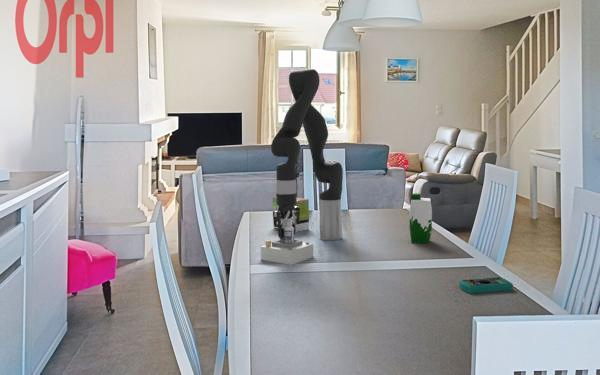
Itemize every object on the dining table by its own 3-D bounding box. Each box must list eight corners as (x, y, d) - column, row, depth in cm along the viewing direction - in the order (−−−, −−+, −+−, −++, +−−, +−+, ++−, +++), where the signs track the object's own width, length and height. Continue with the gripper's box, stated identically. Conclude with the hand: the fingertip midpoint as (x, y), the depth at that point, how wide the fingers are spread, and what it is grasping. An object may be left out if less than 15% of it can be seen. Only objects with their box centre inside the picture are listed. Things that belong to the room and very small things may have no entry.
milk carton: (409, 239, 250) (410, 192, 247) (431, 239, 248) (432, 192, 245) (409, 243, 241) (409, 195, 239) (431, 244, 239) (432, 195, 237)
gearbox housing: (283, 252, 229) (283, 234, 228) (313, 256, 221) (313, 238, 220) (261, 259, 217) (260, 241, 216) (291, 264, 209) (291, 245, 208)
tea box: (272, 228, 277) (271, 197, 275) (288, 225, 283) (287, 195, 282) (293, 233, 266) (293, 200, 264) (309, 229, 272) (309, 198, 271)
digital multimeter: (457, 288, 181) (457, 279, 180) (501, 284, 183) (501, 275, 183) (468, 295, 174) (468, 285, 173) (513, 291, 176) (514, 282, 176)
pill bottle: (285, 242, 222) (285, 219, 221) (296, 244, 219) (296, 220, 218) (277, 244, 217) (277, 221, 216) (288, 246, 215) (288, 222, 214)
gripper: (289, 189, 224) (290, 232, 226) (266, 193, 212) (267, 238, 214) (305, 190, 219) (306, 234, 222) (282, 194, 208) (283, 241, 210)
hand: (287, 236), depth 218 cm, fingers open, 6 cm apart
